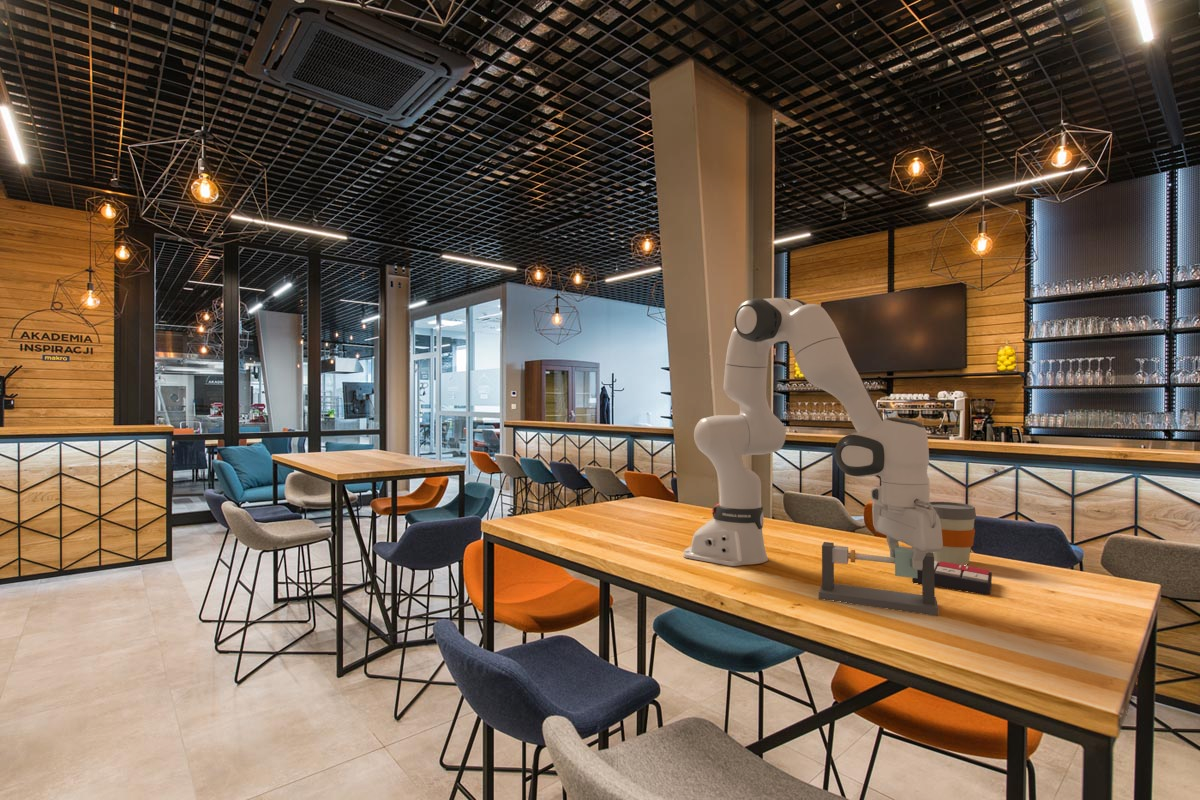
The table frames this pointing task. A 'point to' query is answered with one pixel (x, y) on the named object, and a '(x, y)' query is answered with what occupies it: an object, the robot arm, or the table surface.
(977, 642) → the table surface
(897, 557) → the sleeve
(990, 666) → the table surface
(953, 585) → the calculator
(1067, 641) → the table surface
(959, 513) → the reusable coffee cup
